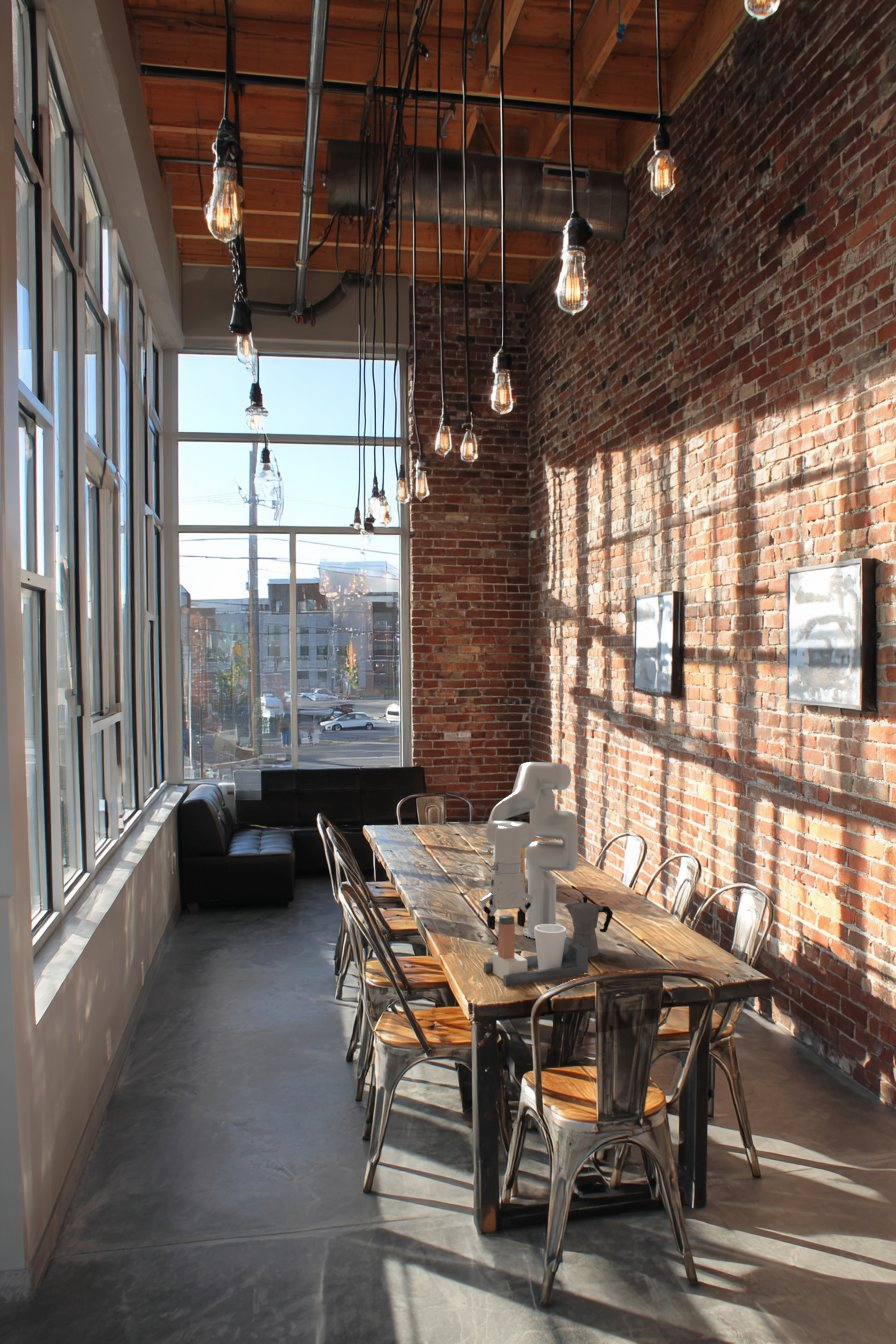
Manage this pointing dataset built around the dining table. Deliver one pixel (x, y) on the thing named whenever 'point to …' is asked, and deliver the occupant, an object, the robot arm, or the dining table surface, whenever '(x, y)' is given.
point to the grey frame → (571, 966)
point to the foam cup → (549, 945)
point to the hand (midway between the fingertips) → (506, 927)
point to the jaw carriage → (507, 950)
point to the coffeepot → (587, 923)
